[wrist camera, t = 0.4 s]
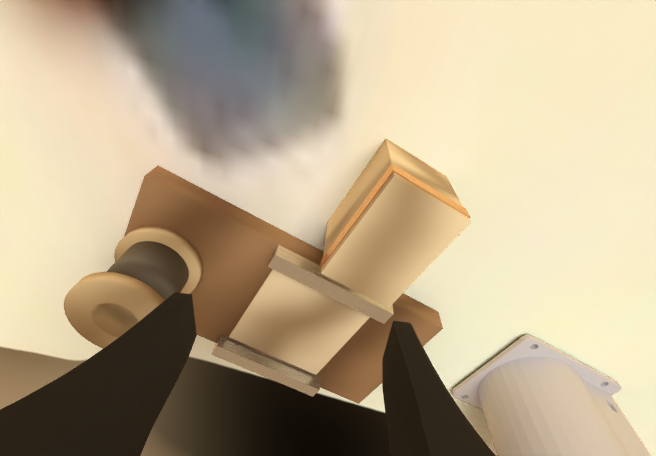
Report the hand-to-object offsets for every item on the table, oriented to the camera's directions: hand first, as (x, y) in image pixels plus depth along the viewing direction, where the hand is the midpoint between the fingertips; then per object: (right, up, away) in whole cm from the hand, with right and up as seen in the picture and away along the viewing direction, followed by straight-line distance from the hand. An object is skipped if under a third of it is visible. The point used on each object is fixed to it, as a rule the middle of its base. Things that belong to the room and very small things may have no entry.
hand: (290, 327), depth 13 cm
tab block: (+5, +5, +8) cm, 10 cm away
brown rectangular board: (-2, -1, +12) cm, 12 cm away
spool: (-9, +2, +9) cm, 13 cm away
